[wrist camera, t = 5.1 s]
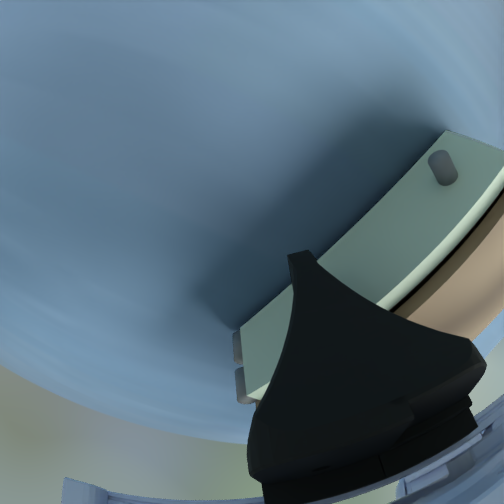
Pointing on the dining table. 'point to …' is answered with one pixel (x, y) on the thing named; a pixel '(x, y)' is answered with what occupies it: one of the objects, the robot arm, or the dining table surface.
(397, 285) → the door
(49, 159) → the dining table surface
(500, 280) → the cabinet
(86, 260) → the dining table surface
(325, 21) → the dining table surface
